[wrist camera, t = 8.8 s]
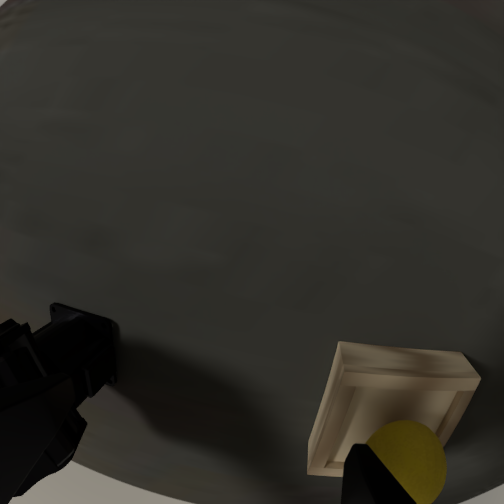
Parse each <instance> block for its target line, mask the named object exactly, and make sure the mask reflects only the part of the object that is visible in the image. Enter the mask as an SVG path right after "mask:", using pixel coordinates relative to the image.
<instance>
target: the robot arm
mask: <svg viewBox="0 0 504 504" xmlns="http://www.w3.org/2000/svg"><path fill="white" fill-rule="evenodd" d="M55 309H56V310H55ZM50 315H51V322H50V323H48V324H46V325H45V326H43V327H42V328H40V329H38V330H37V331H35V332H34V333H31V331H30V329H31V328H30V326H29V324H28V322H27V323H24V324H22V325H20V324H18V323H16V322H15V321H14V320H13V319H12V318H11V319H9V320H7V321H5V322H3V323H2V324H0V504H8V503H9V502H10V500H11V499H12V497H17V496H22V495H23V494H24V493H25V492H27V490H29V489H30V488H31V487H32V486H33V485H34V484H36V483H37V482H38V481H40V480H41V479H43V478H44V477H46V476H48V475H50V474H53V473H55V472H57V471H59V470H61V469H62V468H64V467H65V466H66V465H67V464H68V463H69V462H70V461H71V459H72V458H73V456H74V454H75V451H76V449H77V447H78V444H79V442H80V440H81V437H82V435H83V433H84V431H85V429H86V426H87V424H88V423H87V422H86V421H85V419H84V418H82V417H81V415H80V414H79V412H78V411H77V409H76V408H77V407H78V406H79V405H80V404H81V403H82V402H83V401H84V400H85V399H86V398H87V397H89V398H92V397H93V396H94V395H95V394H96V393H97V392H98V391H99V390H100V389H101V388H102V387H103V386H104V385H105V384H107V385H109V386H114V385H115V384H116V382H117V378H116V361H115V350H114V346H113V336H112V324H111V322H110V320H109V319H107V318H104V317H100V316H97V315H94V314H90V313H87V312H84V311H81V310H77V309H74V308H71V307H68V306H65V305H62V304H59V303H55V302H54V303H52V304H51V305H50ZM104 323H105V324H106V326H107V327H106V326H105V325H104ZM341 504H417V503H416V502H415V501H414V499H413V498H412V497H411V496H410V495H409V494H408V492H407V491H406V490H405V489H404V488H403V486H402V485H401V484H400V483H399V482H398V480H397V479H396V478H395V477H394V476H393V474H392V473H391V472H390V471H389V470H388V468H387V467H386V466H385V465H384V464H383V462H382V461H381V460H380V459H379V458H378V456H377V455H376V454H375V453H374V451H373V450H372V449H371V448H370V447H369V445H367V444H362V443H355V444H353V445H352V447H351V449H350V451H349V453H348V455H347V457H346V459H345V462H344V467H343V483H342V496H341Z"/></svg>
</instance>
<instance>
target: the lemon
mask: <svg viewBox="0 0 504 504" xmlns="http://www.w3.org/2000/svg"><path fill="white" fill-rule="evenodd" d="M365 444H367V445H369V447H370V448H371V449H372V450H373V451H374V453H375V454H376V455H377V456H378V458H379V459H380V460H381V461H382V462H383V464H384V465H385V466H386V467H387V468H388V470H389V471H390V472H391V473H392V474H393V476H394V477H395V478H396V479H397V480H398V482H399V483H400V484H401V485H402V486H403V488H404V489H405V490H406V491H407V492H408V494H409V495H410V496H411V497H412V498H413V499H414V501H415V502H416V503H417V504H431V503H433V502H434V500H435V499H436V498H437V497H438V495H439V494H440V492H441V490H442V489H443V486H444V483H445V479H446V471H447V466H446V458H445V453H444V450H443V447H442V444H441V442H440V440H439V438H438V437H437V436H436V434H435V433H434V432H433V431H432V430H431V429H430V428H429V427H427V426H426V425H424V424H421V423H419V422H417V421H411V420H399V421H395V422H391V423H389V424H386V425H384V426H383V427H381V428H379V429H378V430H377V431H375V432H374V433H373V434H372V435H371V436H370V438H369V439H368V440H367V441H366V443H365Z"/></svg>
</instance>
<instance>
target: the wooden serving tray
mask: <svg viewBox="0 0 504 504" xmlns="http://www.w3.org/2000/svg"><path fill="white" fill-rule="evenodd" d="M480 380H481V377H480V376H479V375H478V373H477V372H476V371H475V369H474V368H473V367H472V365H471V364H470V363H469V362H468V360H467V359H466V358H465V356H464V355H463V354H462V353H461V352H453V351H436V350H422V349H410V348H399V347H388V346H378V345H369V344H360V343H351V342H343V341H339V342H338V346H337V350H336V354H335V357H334V361H333V365H332V368H331V372H330V375H329V378H328V382H327V385H326V389H325V392H324V395H323V398H322V402H321V405H320V408H319V411H318V414H317V417H316V420H315V423H314V426H313V429H312V432H311V435H310V438H309V441H308V468H307V474H308V475H320V476H337V477H343V467H344V462H345V459H346V457H347V455H348V453H349V451H350V449H351V447H352V445H353V444H355V443H362V444H365V443H366V441H367V440H368V439H369V438H370V436H371V435H372V434H373V433H374V432H375V431H377V430H378V429H379V428H381V427H383V426H384V425H386V424H389V423H391V422H395V421H399V420H411V421H417V422H419V423H421V424H424V425H426V426H427V427H429V428H430V429H431V430H432V431H433V432H434V433H435V434H436V436H437V437H438V438H439V440H440V442H441V444H442V447H444V446H445V444H446V442H447V441H448V439H449V438H450V436H451V434H452V433H453V431H454V429H455V428H456V426H457V424H458V422H459V421H460V419H461V417H462V415H463V413H464V412H465V410H466V408H467V406H468V404H469V402H470V400H471V398H472V396H473V394H474V392H475V390H476V388H477V386H478V384H479V382H480Z"/></svg>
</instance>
